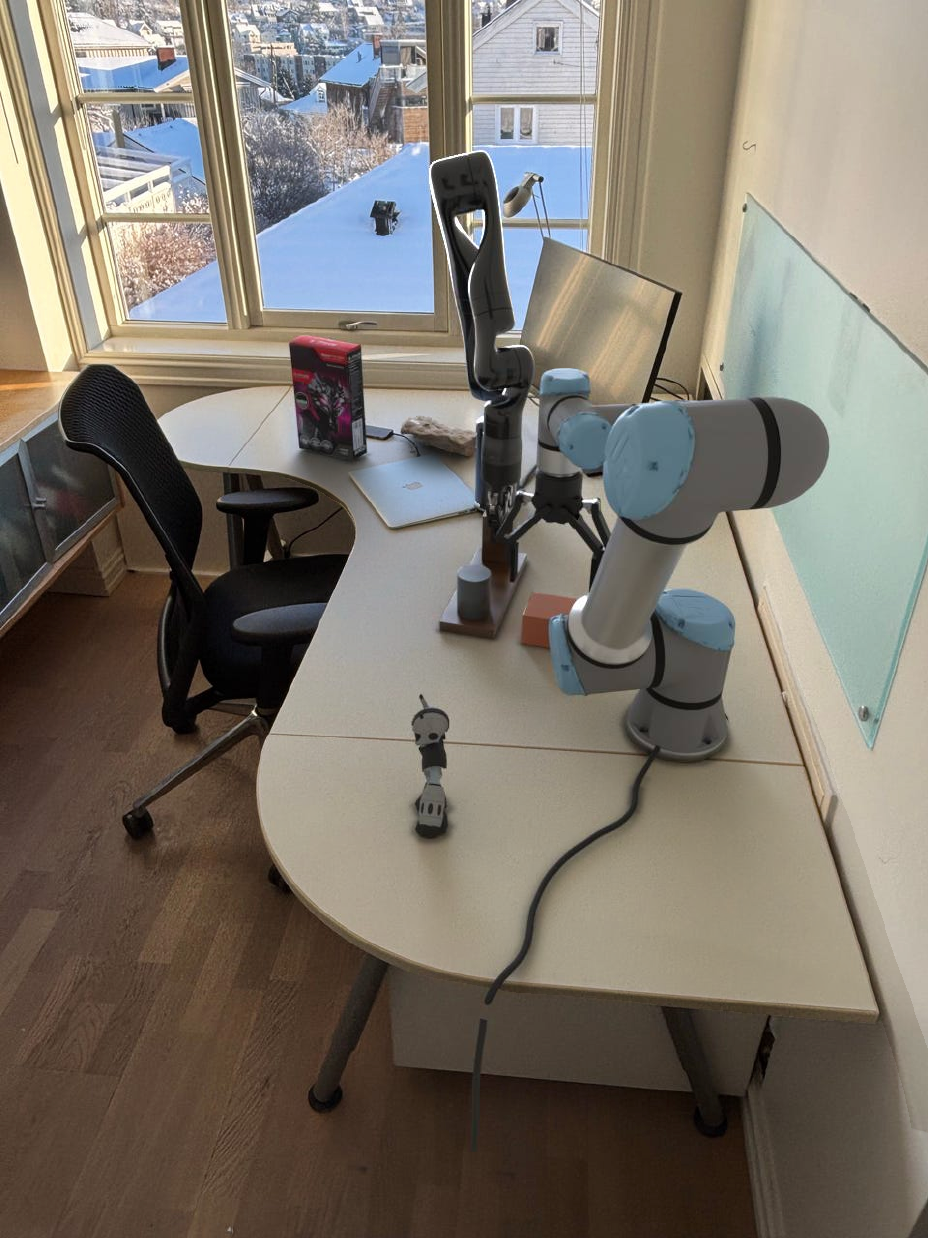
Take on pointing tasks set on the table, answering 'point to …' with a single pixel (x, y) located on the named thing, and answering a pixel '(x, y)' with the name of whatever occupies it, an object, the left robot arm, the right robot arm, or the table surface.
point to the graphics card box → (329, 396)
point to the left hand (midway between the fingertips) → (498, 537)
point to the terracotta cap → (542, 617)
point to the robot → (431, 769)
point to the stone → (440, 435)
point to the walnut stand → (482, 589)
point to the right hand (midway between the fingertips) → (552, 584)
